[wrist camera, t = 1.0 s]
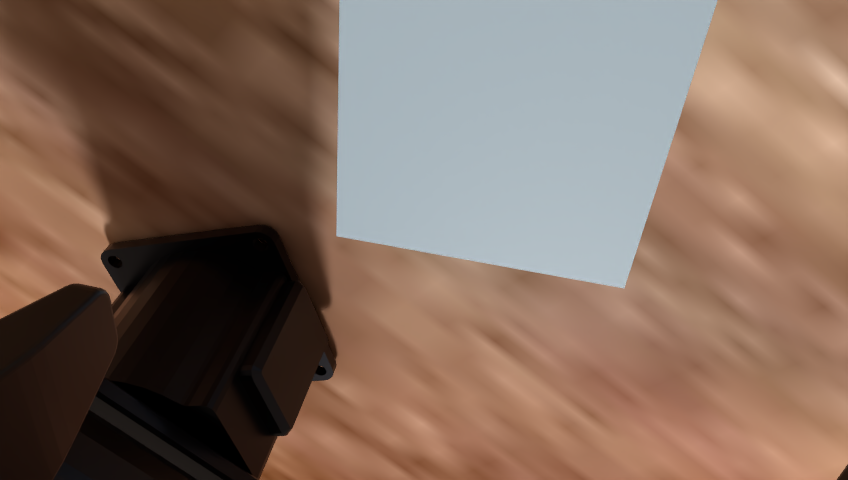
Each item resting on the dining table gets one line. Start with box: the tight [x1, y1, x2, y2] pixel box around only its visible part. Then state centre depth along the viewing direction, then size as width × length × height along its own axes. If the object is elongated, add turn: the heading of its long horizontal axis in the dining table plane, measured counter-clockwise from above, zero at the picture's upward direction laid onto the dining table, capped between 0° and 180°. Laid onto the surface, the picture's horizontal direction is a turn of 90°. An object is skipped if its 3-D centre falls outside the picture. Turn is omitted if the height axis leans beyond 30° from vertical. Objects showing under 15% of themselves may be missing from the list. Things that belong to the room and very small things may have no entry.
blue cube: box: [336, 0, 717, 288], centre depth 16 cm, size 6×6×6 cm
